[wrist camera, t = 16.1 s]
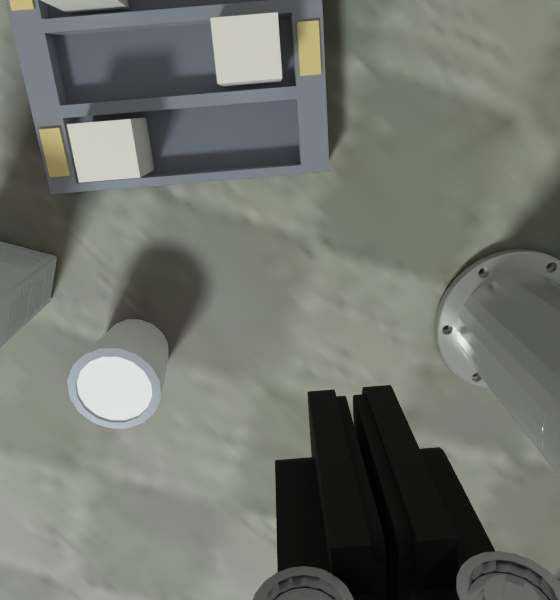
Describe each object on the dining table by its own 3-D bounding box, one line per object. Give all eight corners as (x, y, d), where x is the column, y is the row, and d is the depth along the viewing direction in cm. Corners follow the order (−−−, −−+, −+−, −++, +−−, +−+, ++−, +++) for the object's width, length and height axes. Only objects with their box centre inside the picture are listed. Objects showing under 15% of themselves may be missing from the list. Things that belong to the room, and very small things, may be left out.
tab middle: (276, 23, 35) (277, 12, 31) (280, 81, 36) (282, 78, 32) (216, 28, 35) (209, 17, 31) (223, 86, 36) (217, 83, 32)
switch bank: (313, -82, 34) (318, -100, 31) (325, 166, 40) (329, 171, 37) (11, -57, 34) (-13, -72, 31) (65, 188, 40) (49, 194, 37)
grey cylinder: (170, 389, 46) (154, 436, 40) (92, 376, 46) (63, 421, 39) (181, 320, 44) (166, 357, 38) (99, 305, 43) (70, 340, 37)
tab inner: (146, 117, 37) (130, 119, 32) (154, 169, 38) (140, 177, 34) (89, 122, 37) (66, 124, 32) (99, 174, 38) (78, 182, 34)
